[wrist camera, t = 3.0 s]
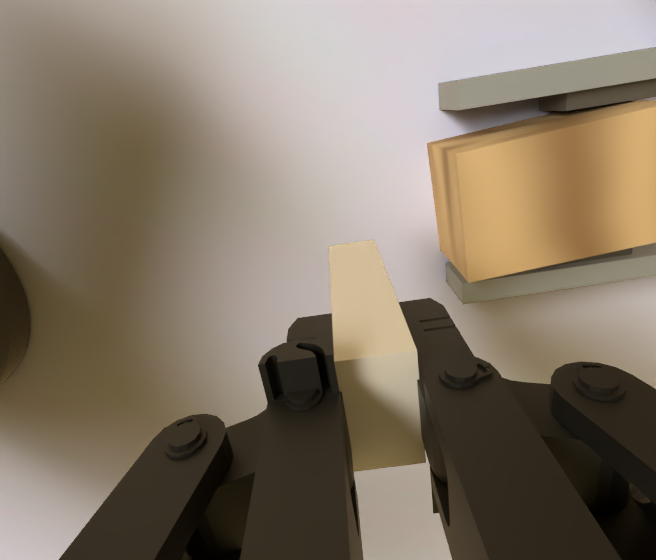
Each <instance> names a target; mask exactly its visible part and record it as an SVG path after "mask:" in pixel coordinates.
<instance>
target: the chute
mask: <svg viewBox="0 0 656 560" xmlns="http://www.w3.org/2000/svg"><path fill="white" fill-rule="evenodd" d="M438 85H439V109H442V110H464V109H470V108H476V107H482V106H488V105H494V104H501V103H507V102H513V101H519V100H525V99H531V98H537V97H539V108H538V110H549V111H569V110H576V109H582V108H588V107H594V106H600V105H606V104H613V103H619V102H625V101H631V100H637V99H643V98H650V97H656V47H654V48H648V49H642V50H636V51H630V52H624V53H618V54H612V55H606V56H600V57H594V58H588V59H582V60H576V61H570V62H564V63H558V64H552V65H546V66H540V67H534V68H528V69H522V70H516V71H509V72H503V73H497V74H491V75H485V76H479V77H473V78H467V79H461V80H455V81H449V82H443V83H438ZM651 276H656V243H651V244H647V245H642V246H637V247H633V248H628V249H624V250H619V251H614V252H610V253H605V254H600V255H596V256H591V257H587V258H582V259H577V260H573V261H568V262H563V263H559V264H554V265H550V266H545V267H540V268H536V269H531V270H526V271H522V272H517V273H513V274H508V275H503V276H499V277H494V278H489V279H485V280H480V281H476V282H471V283H468V281H467V280H466V279H465V278H464V277H463V276H462V274H461V273H460V272H459V271H458V270H457V268H456V267H455V266H454V265H453V264H452V263H451V262H449V263H446V282H447V283H448V284H449V286H450V287H451V288H452V290H453V291H454V293H455V294H456V295H457V297H458V298H459V299H460V301H461V302H462V304H467V303H474V302H481V301H488V300H494V299H501V298H508V297H515V296H522V295H529V294H535V293H542V292H549V291H556V290H563V289H569V288H576V287H583V286H590V285H597V284H603V283H610V282H617V281H624V280H631V279H638V278H644V277H651Z"/></svg>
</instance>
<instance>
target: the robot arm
mask: <svg viewBox="0 0 656 560" xmlns="http://www.w3.org/2000/svg"><path fill="white" fill-rule="evenodd" d="M329 265H330V286H331V307H332V313H331V314H324V315H317V316H310V317H303V318H297V320H296V321H295V322H294V323H293V324H292V325H291V327H290V328H289V329H288V336H287V342H286V343H283V344H281V345H279V346H277V347H274V348H272V349H271V350H270V351H269V352H267V353H266V354H265V355H264V356H263V357H262V359H261V360H260V362H259V364H258V367H259V371H260V374H261V378H262V382H263V386H264V390H265V393H266V397H267V401H268V404H267V409H266V410H264V411H263V412H261V413H260V414H258V415H257V416H255V417H253V418H251V419H248V420H246V421H243V422H241V423H238V424H235V425H233V426H230V427H227V428H225V425H224V422H223V421H221V420H220V419H219V418H218V417H217V416H213V415H208V414H199V415H191V416H188V417H186V418H183V419H180V420H177V421H176V422H174V423H172V424H171V425H169V426H168V427H166V428H164V429H163V430H162V431H161V432H160V433H159V434H158V435H157V436H156V437H155V438H154V439H153V440H152V441H151V443H150V444H149V445H148V447H147V448H146V449H145V450H144V452H143V453H142V454H141V456H140V457H139V458H138V459H137V461H136V462H135V463H134V464H133V466H132V467H131V468H130V470H129V471H128V472H127V473H126V475H125V476H124V477H123V478H122V480H121V481H120V482H119V484H118V485H117V486H116V487H115V489H114V490H113V491H112V492H111V494H110V495H109V496H108V498H107V499H106V500H105V501H104V503H103V504H102V505H101V506H100V508H99V509H98V510H97V512H96V513H95V514H94V515H93V517H92V518H91V519H90V521H89V522H88V523H87V524H86V526H85V527H84V528H83V529H82V531H81V532H80V533H79V535H78V536H77V537H76V538H75V540H74V541H73V542H72V543H71V545H70V546H69V547H68V549H67V550H66V551H65V552H64V554H63V555H62V556H61V557H60V559H59V560H363V552H362V541H361V531H360V520H359V509H358V499H357V491H356V486H355V480H354V472H353V471H361V470H369V469H378V468H386V467H394V466H402V465H410V464H418V463H426V458H425V450H426V454H427V457H428V460H429V464H430V472H431V486H432V500H433V513H439V514H440V517H441V521H442V524H443V528H444V531H445V535H446V538H447V542H448V545H449V549H450V552H451V556H452V559H453V560H656V389H654V388H653V387H651V386H650V385H648V384H646V383H645V382H643V381H641V380H640V379H638V378H636V377H635V376H633V375H631V374H629V373H627V372H625V371H623V370H620V369H618V368H616V367H613V366H609V365H605V364H601V363H593V362H576V363H570V364H565V365H563V366H561V367H560V368H558V369H556V370H555V372H554V373H553V375H552V377H551V384H538V383H526V382H518V381H511V380H508V379H504V378H502V377H501V375H500V374H499V372H498V371H497V370H496V369H495V368H494V367H493V366H492V365H491V364H490V363H488V362H486V361H484V360H482V359H479V358H477V357H474V355H473V354H472V352H471V350H470V349H469V347H468V345H467V344H466V342H465V341H464V339H463V337H462V336H461V334H460V332H459V331H458V329H457V327H455V324H454V322H453V321H452V319H451V318H450V316H449V314H448V312H447V311H446V309H445V308H444V306H443V305H441V304H440V303H438V302H436V301H434V300H433V299H431V298H427V299H420V300H412V301H405V302H398V300H397V298H396V295H395V292H394V290H393V287H392V285H391V282H390V279H389V277H388V274H387V272H386V269H385V267H384V264H383V261H382V259H381V256H380V254H379V251H378V249H377V246H376V243H375V241H374V240H368V241H361V242H354V243H348V244H341V245H334V246H329ZM29 332H30V319H29V311H28V306H27V301H26V298H25V294H24V292H23V289H22V286H21V284H20V282H19V280H18V277H17V275H16V274H15V272H14V270H13V268H12V266H11V265H10V263H9V262H8V260H7V258H6V257H5V256H4V254H3V253H2V251H1V250H0V384H1V383H2V382H4V381H5V380H6V379H7V378H8V377H9V376H10V375H11V374H12V373H13V372H14V371H15V369H16V368H17V367H18V365H19V364H20V362H21V360H22V358H23V356H24V354H25V351H26V348H27V345H28V340H29ZM635 487H636V488H635Z"/></svg>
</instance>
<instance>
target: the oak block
mask: <svg viewBox="0 0 656 560" xmlns="http://www.w3.org/2000/svg"><path fill="white" fill-rule="evenodd" d="M427 148H428V156H429V164H430V172H431V180H432V188H433V196H434V204H435V212H436V219H437V227H438V235H439V243H440V250H441V251H442V252H443V253H444V254H445V256H446V257H447V258H448V259H449V260H450V261H451V263H452V264H453V265H454V266H455V267H456V268H457V270H458V271H459V272H460V273H461V274H462V276H463V277H464V278H465V279H466V280H467V281H468V283H471V282H476V281H480V280H485V279H489V278H494V277H499V276H503V275H508V274H513V273H517V272H522V271H526V270H531V269H536V268H540V267H545V266H550V265H554V264H559V263H563V262H568V261H573V260H577V259H582V258H587V257H591V256H596V255H600V254H605V253H610V252H614V251H619V250H624V249H628V248H633V247H637V246H642V245H647V244H651V243H656V101H625V102H619V103H613V104H606V105H600V106H594V107H588V108H582V109H576V110H569V111H559V112H555V113H551V114H547V115H543V116H538V117H534V118H530V119H526V120H522V121H517V122H513V123H509V124H505V125H501V126H497V127H492V128H488V129H484V130H480V131H476V132H472V133H467V134H463V135H459V136H455V137H451V138H446V139H442V140H438V141H434V142H430V143H427Z"/></svg>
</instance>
